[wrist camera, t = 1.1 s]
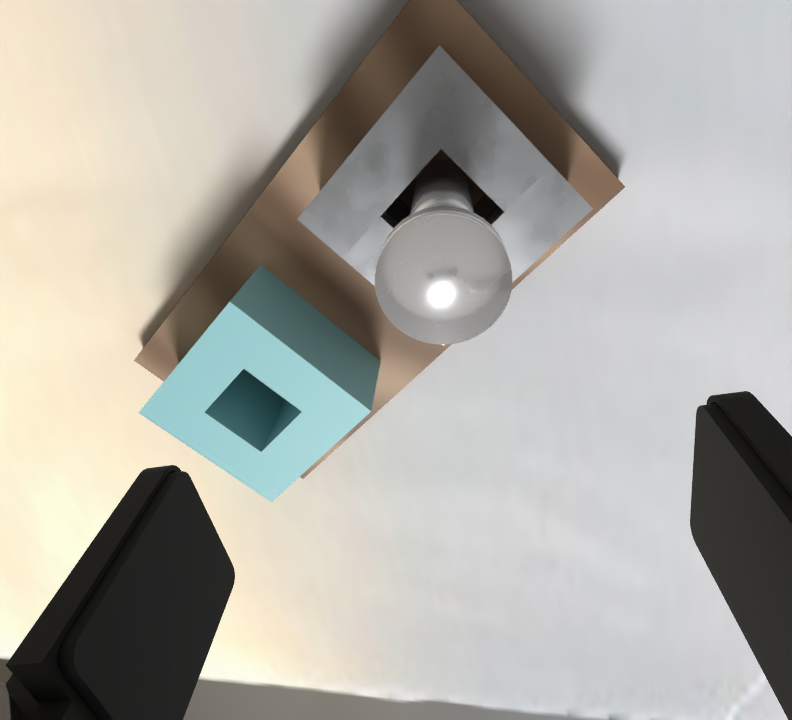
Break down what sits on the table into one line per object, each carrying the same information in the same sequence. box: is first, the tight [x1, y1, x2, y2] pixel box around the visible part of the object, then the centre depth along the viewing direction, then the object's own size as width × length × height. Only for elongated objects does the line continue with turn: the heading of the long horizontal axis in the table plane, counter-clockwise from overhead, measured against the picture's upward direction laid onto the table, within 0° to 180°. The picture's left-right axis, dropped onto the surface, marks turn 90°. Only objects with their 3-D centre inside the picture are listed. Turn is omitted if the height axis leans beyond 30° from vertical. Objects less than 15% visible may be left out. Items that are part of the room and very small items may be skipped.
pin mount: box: [297, 45, 593, 345], centre depth 29 cm, size 10×10×6 cm
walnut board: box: [134, 0, 625, 478], centre depth 36 cm, size 30×15×2 cm, turn 138°
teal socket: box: [139, 265, 381, 502], centre depth 36 cm, size 10×10×6 cm
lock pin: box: [375, 160, 512, 345], centre depth 25 cm, size 5×5×15 cm
